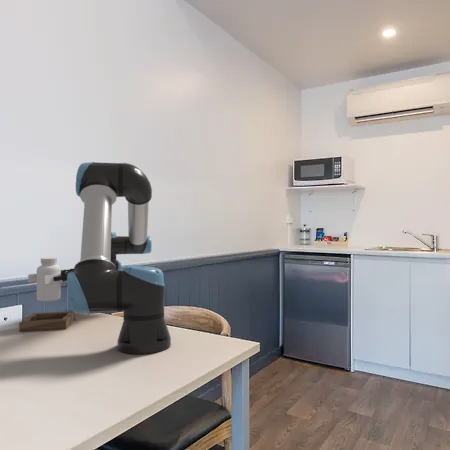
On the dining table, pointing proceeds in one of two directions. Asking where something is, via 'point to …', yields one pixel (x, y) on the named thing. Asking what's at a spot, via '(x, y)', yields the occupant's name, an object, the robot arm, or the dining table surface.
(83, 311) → the robot arm
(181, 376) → the dining table surface
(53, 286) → the pill bottle
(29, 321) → the tray
